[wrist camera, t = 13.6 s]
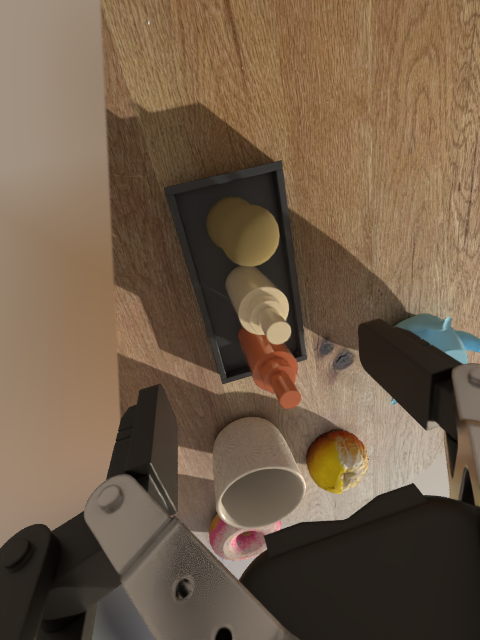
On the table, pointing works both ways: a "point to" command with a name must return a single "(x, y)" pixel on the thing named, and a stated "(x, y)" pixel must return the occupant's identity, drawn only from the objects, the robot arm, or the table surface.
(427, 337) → the teapot
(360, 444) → the fruit
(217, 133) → the table surface
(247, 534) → the donut
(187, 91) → the table surface
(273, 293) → the cream bottle
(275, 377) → the terracotta bottle
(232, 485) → the planter
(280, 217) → the tray
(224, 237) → the pepper shaker
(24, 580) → the robot arm
